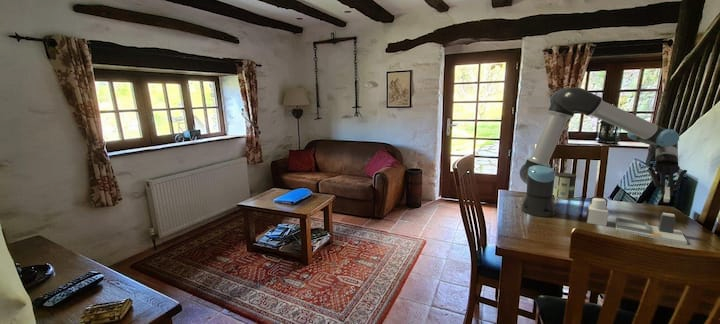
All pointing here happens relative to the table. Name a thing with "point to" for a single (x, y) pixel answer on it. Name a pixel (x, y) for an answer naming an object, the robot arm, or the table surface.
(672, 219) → the breaker toggle
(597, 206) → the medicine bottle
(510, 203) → the table surface
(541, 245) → the table surface
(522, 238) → the table surface
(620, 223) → the breaker panel
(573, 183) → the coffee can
